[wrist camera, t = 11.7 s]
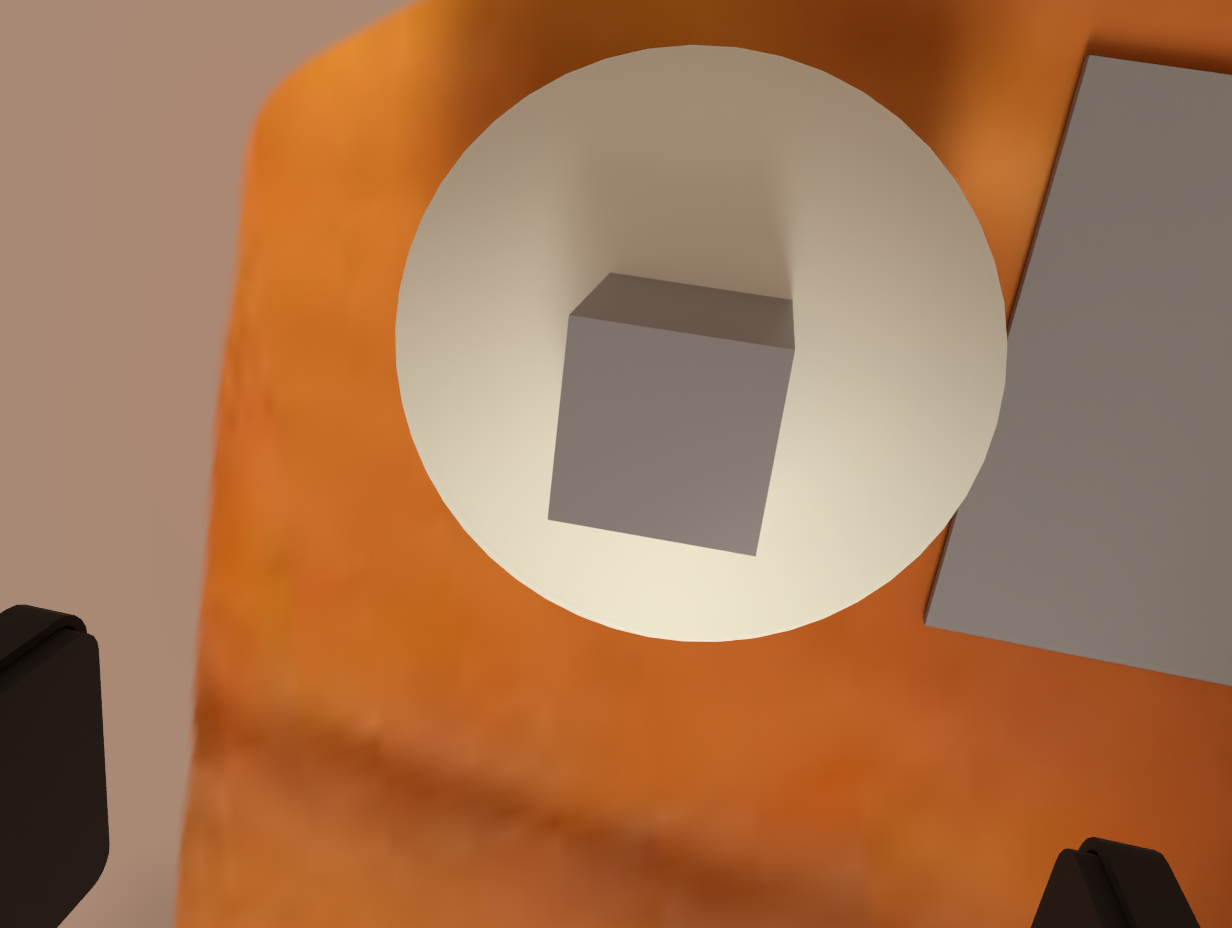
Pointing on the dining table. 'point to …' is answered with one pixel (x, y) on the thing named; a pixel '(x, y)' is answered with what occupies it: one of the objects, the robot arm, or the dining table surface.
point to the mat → (1115, 395)
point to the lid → (701, 343)
